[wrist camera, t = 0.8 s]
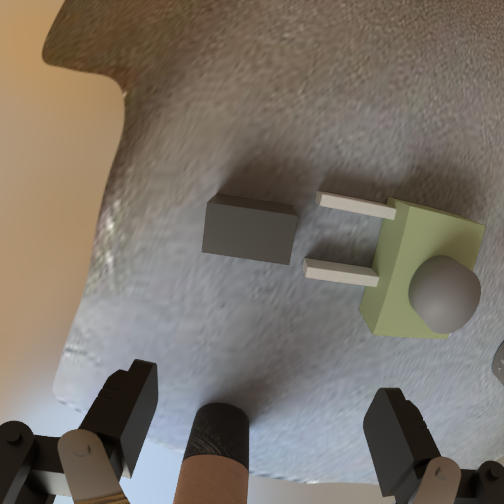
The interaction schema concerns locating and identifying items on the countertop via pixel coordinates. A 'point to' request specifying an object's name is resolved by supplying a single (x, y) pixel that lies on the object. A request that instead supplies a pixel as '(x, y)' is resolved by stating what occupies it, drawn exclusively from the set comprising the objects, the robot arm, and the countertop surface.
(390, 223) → the two-prong plug
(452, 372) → the countertop surface
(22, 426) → the robot arm
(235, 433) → the travel mug
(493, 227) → the countertop surface
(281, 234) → the dark grey box
